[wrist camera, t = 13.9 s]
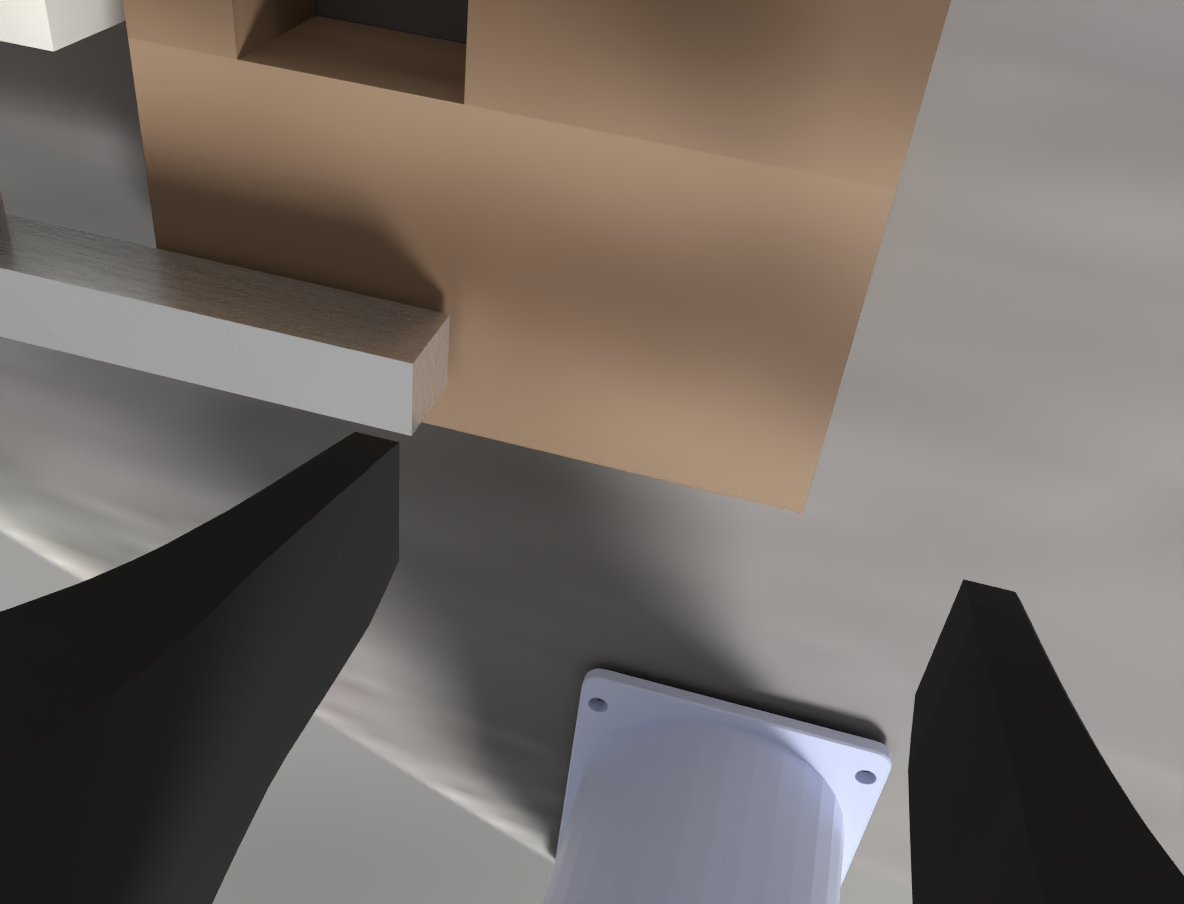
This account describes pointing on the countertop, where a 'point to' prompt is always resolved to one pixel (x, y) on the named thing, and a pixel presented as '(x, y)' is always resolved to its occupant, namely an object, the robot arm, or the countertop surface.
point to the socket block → (564, 202)
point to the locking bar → (221, 325)
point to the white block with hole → (56, 21)
